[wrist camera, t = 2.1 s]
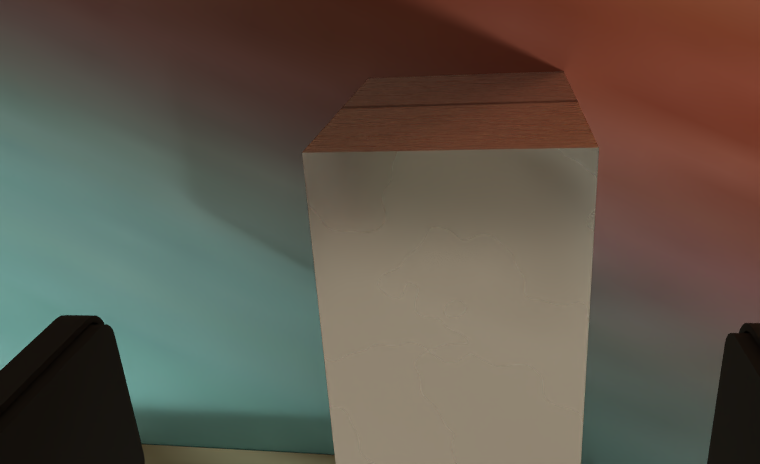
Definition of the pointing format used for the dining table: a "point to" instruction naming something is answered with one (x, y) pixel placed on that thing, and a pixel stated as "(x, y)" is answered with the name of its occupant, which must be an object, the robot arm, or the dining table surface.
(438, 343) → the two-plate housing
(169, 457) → the wooden stand
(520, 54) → the dining table surface
